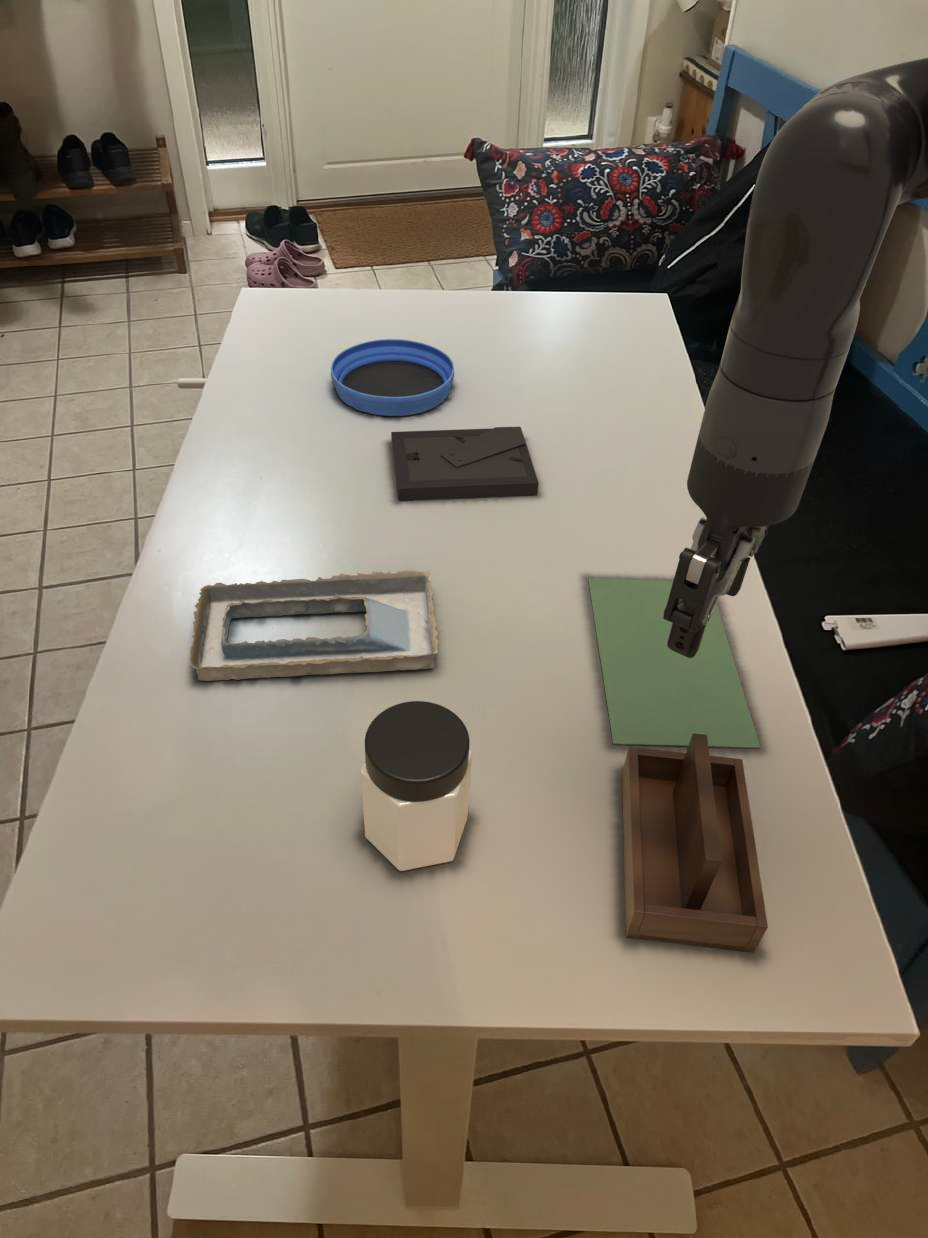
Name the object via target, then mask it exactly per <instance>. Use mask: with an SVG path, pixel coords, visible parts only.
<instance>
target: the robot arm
mask: <svg viewBox="0 0 928 1238" xmlns="http://www.w3.org/2000/svg"><path fill="white" fill-rule="evenodd" d="M924 199H928V57H923V58H918V59H915V60H909V61H905V62H901V63H897V64H892V65H888V66H883V67H881V68H876V69H874V70H870V71H867V72H864V73H860V74H857V75H853V76H850V77H848V78H844V79H842V80H839V81H838V82H834V83H833V84H830V85H829V86H827V87H825V88H823V89H822V90H820V91H819V92H817V93H816V94H815V95H813V96H812V97H811V98H810V99H809V100H808V101H807V102H806V103H804V104H803V106H802V107H801V108H800V109H799V110H798V111H796V112H795V113H794V115H792V116H791V117H790V118H789V119H788V120H787V121H786V122H784V124H783V125H782V127H781V128H780V129H779V130H778V131H777V133H776V134H775V135H774V137H773V138H772V140H771V142H770V144H769V146H768V147H767V150H766V152H765V154H764V156H763V159H762V161H761V165H760V167H759V171H758V174H757V177H756V182H755V185H754V189H753V194H752V198H751V203H750V206H749V213H748V218H747V224H746V225H747V226H746V233H745V241H744V242H745V243H744V250H743V257H742V267H741V280H740V291H739V295H738V298H737V301H736V304H735V306H734V310H733V313H732V316H731V320H730V324H729V327H728V331H727V335H726V339H725V343H724V348H723V352H722V355H721V360H720V363H719V366H718V370H717V373H716V375H715V378H714V380H713V382H712V384H711V387H710V390H709V393H708V396H707V400H706V402H705V407H704V411H703V415H702V419H701V423H700V427H699V431H698V434H697V439H696V444H695V448H694V452H693V455H692V460H691V464H690V468H689V472H688V476H687V480H686V488H687V492H688V495H689V497H690V499H691V500H692V501H693V503H694V504H695V505H696V506H697V507H698V508H699V509H700V511H702V513H703V514H704V516H705V518H704V517H701V518H700V519H699V521H698V522H697V524H696V527H695V529H694V531H693V534H692V545H691V547H690V548H689V547H687V546H686V547H684V549H683V550H682V551H681V552H680V554H679V555H678V559H679V560H678V563H677V566H676V570H675V573H674V576H673V579H672V581H673V584H672V588H671V591H670V595H669V598H668V602H667V605H666V608H665V610H664V616H663V619H665V620H667V621H669V622H671V623H672V627H671V631H670V635H669V638H668V642H667V646H668V648H669V649H671V650H672V651H674V652H677V653H679V654H681V655H683V656H686V657H688V658H693V657H694V656H695V655H696V653H697V652H698V650H699V647H700V643H701V640H702V637H703V633H704V630H705V627H706V624H707V622H708V621H709V620H710V617H711V615H710V614H711V612H712V610H713V607H714V605H715V603H716V604H717V600H718V598H719V597H721V596H722V597H724V596H726V595H727V596H729V597H736V596H737V595H738V594H739V592H740V590H741V589H742V585H743V582H744V580H745V577H746V574H747V570H748V567H749V564H750V561H751V558H753V557H754V555H755V554H757V552H758V551H759V549H760V547H761V545H762V542H763V541H764V539H765V536H767V535H768V533H769V527H771V526H775V525H777V524H780V523H782V522H784V521H786V520H788V519H789V518H790V517H792V516H793V515H794V514H795V513H796V512H797V509H798V508H799V505H800V503H801V499H802V496H803V494H804V491H805V488H806V486H807V483H808V480H809V477H810V474H811V472H812V468H813V466H814V463H815V461H816V457H817V454H818V451H819V449H820V446H821V444H822V441H823V438H824V435H825V432H826V430H827V426H828V423H829V419H830V415H831V411H832V406H833V400H834V395H835V392H836V389H837V385H838V382H839V380H840V377H841V374H842V371H843V369H844V366H845V363H846V360H847V357H848V354H849V352H850V348H851V346H852V343H853V340H854V337H855V333H856V330H857V326H858V322H859V318H860V312H861V311H860V310H861V302H860V299H861V297H862V294H863V292H864V289H865V287H866V284H867V282H868V279H869V278H870V277H869V276H870V275H871V272H872V269H873V266H874V264H875V262H876V259H877V256H878V253H879V251H880V248H881V246H882V243H883V240H884V239H885V238H884V237H885V236H886V233H887V230H888V228H889V226H890V223H891V221H892V218H893V216H894V213H895V211H896V208H897V206H898V205H902V204H906V203H909V202H910V203H911V202H915V201H921V200H924Z"/></svg>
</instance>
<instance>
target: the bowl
mask: <svg viewBox="0 0 928 1238" xmlns="http://www.w3.org/2000/svg"><path fill="white" fill-rule="evenodd" d="M330 376H331V381H332V383H333V386H334V387H335V391H336V393H337V395H338V397H339V398H340V399H341V400H342V402H344V404H346V405H348V406H349V407H350V408H353V409H355V410H357V411H360V412H363V413H366V414H371V415H376V416H384V417H385V416H386V417H402V416H411V415H416V414H417V415H418V414H422V413H424V412H427V411H429V410H431V409H434V408H436V407H438V406H439V405H440V404H442V403H443V402H444V401H445V400H446V399H447V398H448V396H449V394H450V391H451V387H452V384H453V383H454V378H455V365H454V361H453V360H452V359H451V358H450V356H449V355H448V354H446V353H445V352H444V351H442V350H441V349H439V348H436V347H435V346H432V345H429V344H428V343H424V342H421V341H420V342H419V341H415V340H409V339H399V338H398V339H397V338H387V339H386V338H385V339H376V340H369V341H365V342H360V343H358V344H355V345H352V346H349V347H348V348H346V349H344V350H343V351H341V352H340V353H338V354H337V355H336V356H335V357H334V358H333V360H332V362H331V364H330Z"/></svg>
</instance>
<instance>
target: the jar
mask: <svg viewBox="0 0 928 1238" xmlns="http://www.w3.org/2000/svg"><path fill="white" fill-rule="evenodd" d="M470 740H471V739H470V734H469V732H468V729H467V726H466V725H465V723H464V721H463V720H462V719H461V718H460V717H459V716H458V715H457V714H456V713H455V712H454V711H452V710H451V709H449V708H448V707H445V706H443V705H441V704H438V703H435V702H431V701H423V700H411V701H410V700H409V701H405V702H401V703H397V704H393V705H391V706H390V707H387V708H386V709H384V710H382V711H381V712H380V713H379V714H377V716H375V717H374V719H372V721H371V722H370V723H369V725H368V727H367V729H366V732H365V736H364V763H363V765H362V767H361V770H360V781H361V795H362V796H361V797H362V809H363V811H362V812H363V824H364V837H365V839H367V841H369V843H371V845H372V846H374V848H376V849H377V850H378V851H379V852H380V853H381V854H382V856H384V858H385V859H387V860H388V861H389V862H390V863H391V864H392V865H393V867H394V868H396V869H397V870H398V871H399V872H405V871H410V870H413V869H420V868H424V867H430V866H434V865H440V864H444V863H449V862H453V861H454V860H455V857H456V853H457V850H458V847H459V844H460V841H461V838H462V835H463V833H464V829H465V826H466V823H467V821H468V817H469V816H468V815H469V804H470V803H469V801H470V789H471V776H472V775H471V773H472V762H473V761H472V760H473V751H472V750H471V749H470Z"/></svg>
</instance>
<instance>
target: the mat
mask: <svg viewBox="0 0 928 1238" xmlns="http://www.w3.org/2000/svg"><path fill="white" fill-rule="evenodd" d="M587 582H588V589H589V594H590V601H591V607H592V612H593V613H592V615H593V621H594V628H595V635H596V640H597V647H598V655H599V661H600V667H601V674H602V680H603V687H604V693H605V694H604V695H605V700H606V707H607V713H608V714H607V715H608V721H609V728H610V734H611V740H612V745H614V746H615V745H616V746H645V747H647V746H648V747H649V746H651V747H683V748H684V747H687V748H688V746H689V743H690V740H691V737H692V734H693V733H695V734H705V735H707V740H708V748H720V749H721V748H722V749H755V750H756V749H758V750H759V749H761V746H760V742H759V738H758V736H757V732H756V729H755V725H754V722H753V719H752V716H751V713H750V710H749V706H748V703H747V698H746V695H745V693H744V689H743V685H742V682H741V680H740V675H739V673H738V670H737V666H736V663H735V660H734V656H733V653H732V650H731V646H730V643H729V639H728V637H727V634H726V633H727V632H726V630H725V627H724V623H723V620H722V617H721V614H720V610H719V607H718V605H717V602H716V603H715V605H714V607H713V610H712V612H711V614H710V615H711V617H710V620H709V621H708V622H707V624H706V627H705V630H704V633H703V637H702V640H701V643H700V647H699V650H698V652H697V653H696V655H695V656H694V657H693V658H688V657H686V656H683V655H681V654H679V653H677V652H674V651H672V650H671V649H669V648H668V646H667V642H668V638H669V635H670V631H671V627H672V623H671V622H669V621H667V620H665V619H663V616H664V610H665V608H666V605H667V602H668V598H669V595H670V591H671V588H672V584H673V580H656V579H654V580H653V579H652V580H651V579H623V578H622V579H621V578H620V579H619V578H591V577H590V578H589V577H588V578H587Z"/></svg>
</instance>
